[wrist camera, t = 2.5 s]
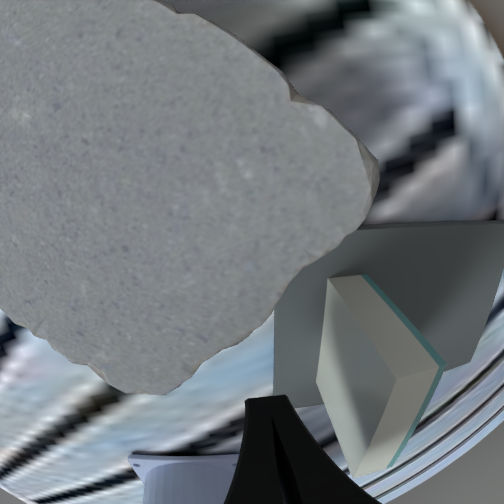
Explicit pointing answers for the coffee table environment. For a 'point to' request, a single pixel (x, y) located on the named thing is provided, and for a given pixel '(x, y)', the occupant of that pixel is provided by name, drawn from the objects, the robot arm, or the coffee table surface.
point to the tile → (372, 373)
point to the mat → (394, 293)
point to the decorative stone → (158, 185)
